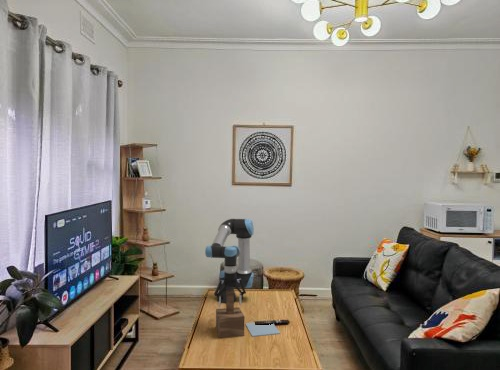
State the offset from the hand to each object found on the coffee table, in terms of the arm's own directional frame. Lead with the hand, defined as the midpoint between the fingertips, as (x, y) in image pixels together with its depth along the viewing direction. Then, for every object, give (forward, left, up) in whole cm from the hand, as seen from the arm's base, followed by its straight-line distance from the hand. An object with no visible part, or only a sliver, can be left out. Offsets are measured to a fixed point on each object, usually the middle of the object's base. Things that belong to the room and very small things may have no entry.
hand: (230, 305), depth 224 cm
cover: (0, 0, -17) cm, 17 cm away
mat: (+1, +21, -17) cm, 27 cm away
